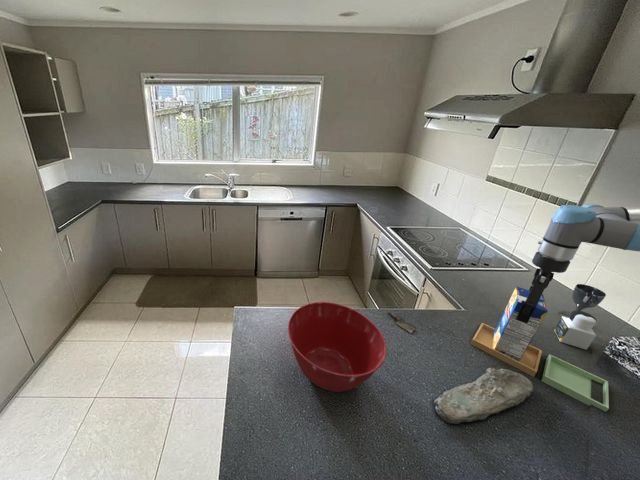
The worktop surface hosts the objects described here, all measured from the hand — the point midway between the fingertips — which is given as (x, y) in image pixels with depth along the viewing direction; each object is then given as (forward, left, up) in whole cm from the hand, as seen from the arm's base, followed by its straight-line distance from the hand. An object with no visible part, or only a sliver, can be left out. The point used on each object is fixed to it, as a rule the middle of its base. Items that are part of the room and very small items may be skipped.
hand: (525, 312), depth 92 cm
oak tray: (0, 0, -17) cm, 17 cm away
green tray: (-17, 0, -17) cm, 24 cm away
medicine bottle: (-15, -26, -17) cm, 34 cm away
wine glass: (-15, -43, -17) cm, 49 cm away
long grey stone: (0, +29, -17) cm, 34 cm away
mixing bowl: (+35, +56, -17) cm, 68 cm away
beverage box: (0, 0, -17) cm, 17 cm away
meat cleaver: (+30, +16, -17) cm, 38 cm away
